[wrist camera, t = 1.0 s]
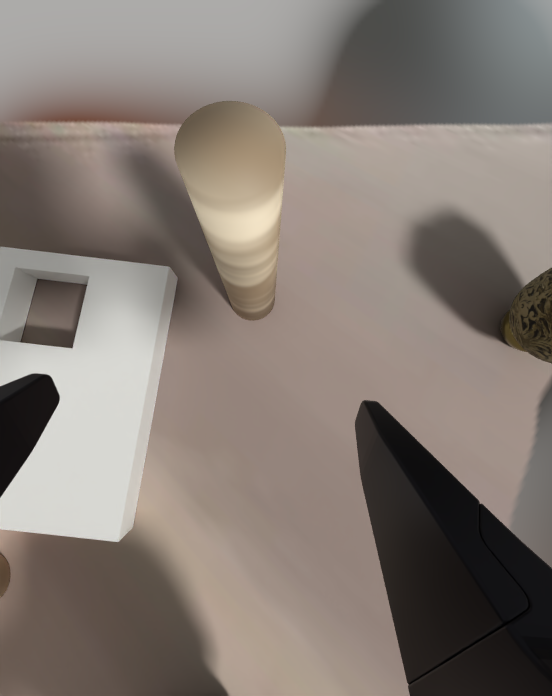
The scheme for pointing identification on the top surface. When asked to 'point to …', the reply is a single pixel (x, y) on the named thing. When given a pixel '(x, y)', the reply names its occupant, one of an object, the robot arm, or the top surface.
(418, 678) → the robot arm
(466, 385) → the top surface
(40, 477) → the hole plate
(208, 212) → the long pin
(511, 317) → the cup
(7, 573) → the short pin
